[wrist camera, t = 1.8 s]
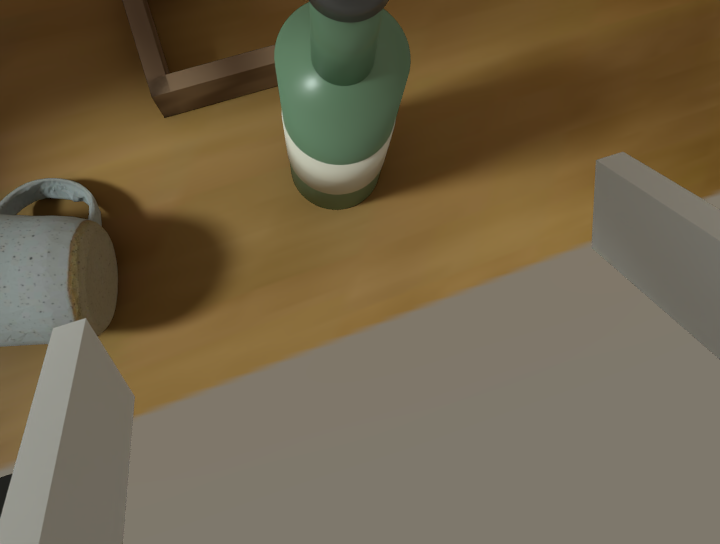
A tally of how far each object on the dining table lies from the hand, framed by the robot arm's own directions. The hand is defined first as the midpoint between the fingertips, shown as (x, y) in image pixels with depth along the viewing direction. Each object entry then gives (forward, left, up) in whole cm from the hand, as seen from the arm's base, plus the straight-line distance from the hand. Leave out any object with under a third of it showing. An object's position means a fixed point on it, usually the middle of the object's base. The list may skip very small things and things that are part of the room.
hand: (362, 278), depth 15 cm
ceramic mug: (-19, +1, -23) cm, 30 cm away
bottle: (-2, +11, -23) cm, 26 cm away
